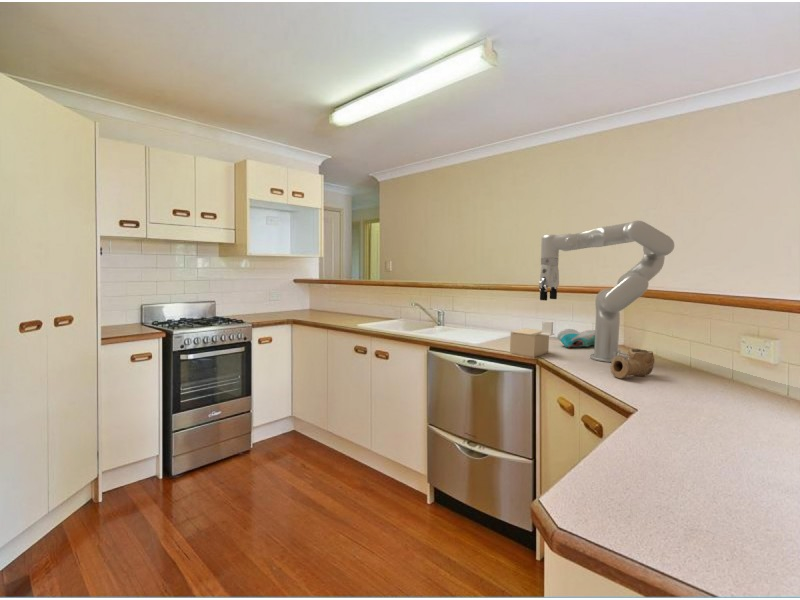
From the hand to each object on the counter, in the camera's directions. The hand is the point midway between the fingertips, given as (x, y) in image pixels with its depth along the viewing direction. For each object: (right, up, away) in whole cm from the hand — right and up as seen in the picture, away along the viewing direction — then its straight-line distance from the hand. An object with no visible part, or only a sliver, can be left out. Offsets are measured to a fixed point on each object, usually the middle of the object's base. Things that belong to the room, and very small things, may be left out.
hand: (548, 299), depth 187 cm
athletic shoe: (+26, -25, +25) cm, 44 cm away
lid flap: (-5, -16, +5) cm, 17 cm away
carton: (-6, -26, +8) cm, 27 cm away
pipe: (+20, -30, -32) cm, 48 cm away
